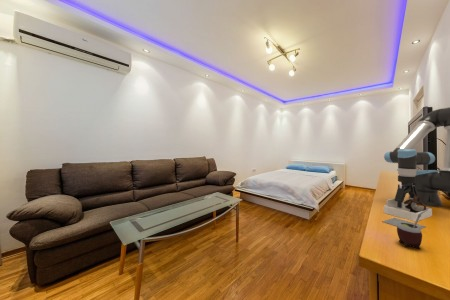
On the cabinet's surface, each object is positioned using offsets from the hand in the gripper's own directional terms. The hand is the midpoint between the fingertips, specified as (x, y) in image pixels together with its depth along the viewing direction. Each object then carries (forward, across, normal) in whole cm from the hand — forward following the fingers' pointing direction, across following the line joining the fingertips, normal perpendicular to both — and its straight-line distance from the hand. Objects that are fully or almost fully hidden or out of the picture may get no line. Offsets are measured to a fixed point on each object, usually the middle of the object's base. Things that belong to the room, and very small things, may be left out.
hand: (406, 211), depth 102 cm
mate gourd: (+1, +42, +17) cm, 45 cm away
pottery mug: (-4, +2, +3) cm, 5 cm away
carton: (+2, +1, 0) cm, 2 cm away
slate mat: (+1, +20, +6) cm, 21 cm away
